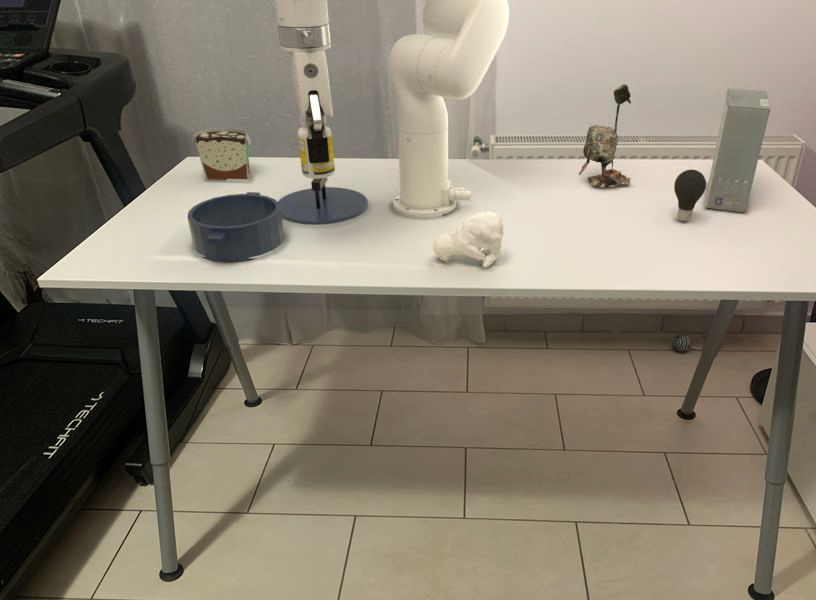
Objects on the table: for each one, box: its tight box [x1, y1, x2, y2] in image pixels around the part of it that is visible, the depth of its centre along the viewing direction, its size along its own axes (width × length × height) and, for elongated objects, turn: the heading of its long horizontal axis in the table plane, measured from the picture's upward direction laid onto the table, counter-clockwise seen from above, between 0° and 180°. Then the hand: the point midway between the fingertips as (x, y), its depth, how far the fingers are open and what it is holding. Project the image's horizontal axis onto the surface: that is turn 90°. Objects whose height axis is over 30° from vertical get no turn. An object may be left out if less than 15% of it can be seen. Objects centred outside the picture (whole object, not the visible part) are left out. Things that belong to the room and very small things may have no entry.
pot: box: [187, 191, 286, 263], centre depth 126 cm, size 16×21×6 cm
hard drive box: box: [705, 88, 771, 213], centre depth 141 cm, size 16×8×20 cm, turn 162°
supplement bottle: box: [297, 111, 336, 180], centre depth 116 cm, size 5×5×10 cm
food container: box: [192, 127, 252, 182], centre depth 155 cm, size 12×6×10 cm, turn 84°
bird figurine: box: [577, 83, 632, 188], centre depth 148 cm, size 8×11×20 cm
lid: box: [277, 177, 369, 225], centre depth 140 cm, size 18×18×6 cm
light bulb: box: [673, 169, 707, 223], centre depth 133 cm, size 6×6×10 cm
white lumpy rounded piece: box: [432, 211, 504, 269], centre depth 120 cm, size 6×8×12 cm
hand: (317, 155), depth 117 cm, fingers closed on supplement bottle, 5 cm apart
